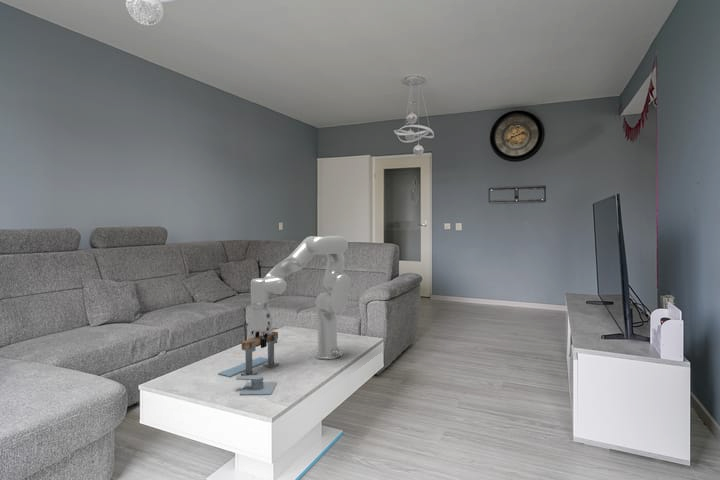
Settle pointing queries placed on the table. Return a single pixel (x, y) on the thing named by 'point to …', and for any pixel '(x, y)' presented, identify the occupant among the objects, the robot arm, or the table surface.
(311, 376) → the table surface
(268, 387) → the shower valve
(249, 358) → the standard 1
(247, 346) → the rail
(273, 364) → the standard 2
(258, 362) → the mat
